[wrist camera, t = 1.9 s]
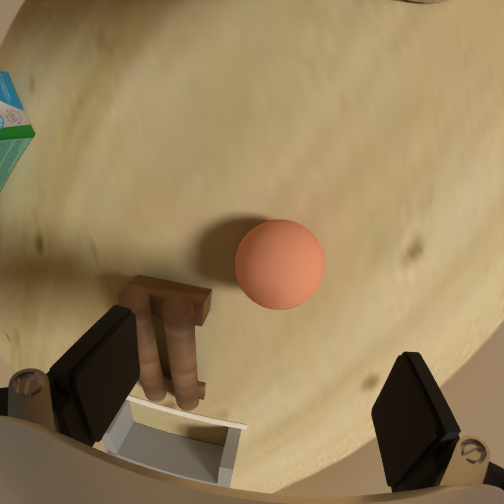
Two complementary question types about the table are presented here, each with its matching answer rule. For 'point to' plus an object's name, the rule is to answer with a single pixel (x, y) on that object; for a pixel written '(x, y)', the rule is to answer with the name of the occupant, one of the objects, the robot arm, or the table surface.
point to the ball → (279, 264)
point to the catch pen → (171, 450)
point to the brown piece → (168, 336)
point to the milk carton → (11, 128)
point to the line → (187, 414)
